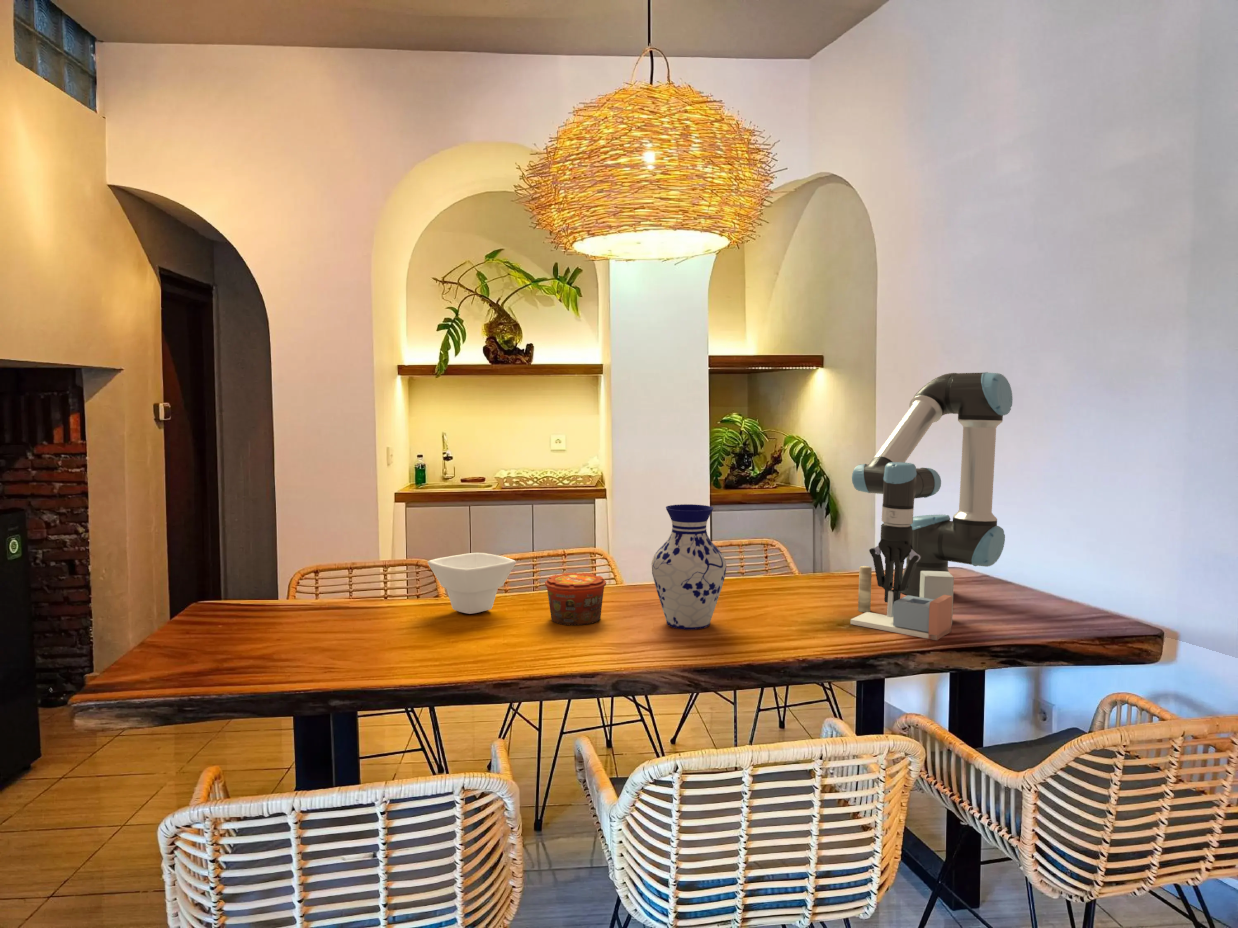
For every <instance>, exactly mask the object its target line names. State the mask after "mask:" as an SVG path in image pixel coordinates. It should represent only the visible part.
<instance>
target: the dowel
mask: <svg viewBox="0 0 1238 928" xmlns="http://www.w3.org/2000/svg"><path fill="white" fill-rule="evenodd" d="M872 570H873V567H872V566H868V565H860V566H859V569H858V571H859V572H858V575H859V576H858V601H857V603H858V604H857V605H858V606H857V611H858V612H860V613H866V612H871V600H872V598H871V597H872V572H873V571H872Z"/></svg>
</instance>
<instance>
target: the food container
mask: <svg viewBox="0 0 1238 928" xmlns="http://www.w3.org/2000/svg"><path fill="white" fill-rule="evenodd" d="M544 585H545V588H546V589H547V597H548V598H547V599H548V603H549V604H548V605H549V611H550V618H551V622H553V623H555V624H559V625H563V626H583V625H590V624H594V623H596V622H598V621H600V620H601V619H602V618H601V617H602V608H603V599H604V592H605V591H604V590H605V587H606V585H607V581H606V579H604V577H603V576H601V575H596V574H595V573H587V572H582V573H577V572H565V573H562V574H554V575H551V576H549V577H548V578H547V580H545V581H544Z"/></svg>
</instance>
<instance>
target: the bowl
mask: <svg viewBox="0 0 1238 928" xmlns="http://www.w3.org/2000/svg"><path fill="white" fill-rule="evenodd" d="M516 564H517V561H516V560H514V559H512V558H509V557H505V556H503V555H498V554H491V553H486V552H471V553H470V552H469V553H462V554H456V555H450V556H449V555H448V556H444V557H438V558H434V559H430V560H427V565H428V566H429V568H430V570H431V572H432V573H433V574H434V576H435V578H436V579H437V581H438V583H439V584H440V586H441V587H442V588H444V589H446V592H447V594H448V599H449V602H450V605H451V608H452V609H453V610H454V611H456V612H459V613H463V614H467V615H468V614H469V615H470V614H477V613H481V612H485V611H489V610H492V608H493V606H494V603H495V599H496V595H497V594H498V593H497V592H498V589H499V588H500V587H503V586H504V584H505V582H506V581H507V579H508V578H509V575H510V574H511V572H512V570H513V569H514V568H515V565H516Z"/></svg>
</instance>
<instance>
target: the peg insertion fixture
mask: <svg viewBox="0 0 1238 928" xmlns="http://www.w3.org/2000/svg"><path fill="white" fill-rule="evenodd" d="M951 621H952V622H953V616H952V596H950V595H943V596H941V597H939V598H937V599H935V600H933V601H931V602H930V606H929V632H925V631H920V630H915V629H909V628H904V627H898V626H893V617H887V614H883V613H882V614H881V613H877V612H876V613H875V612H871V611H870V612H863V613H861V614H859V615H857V616H855V617H852V618H850V625H854V626H859V627H864V628H870V629H875V630H880V631H885V632H891V633H896V634H902V635H907V636H912V637H918V638H923V639H928V640H933V641H938V640H939V639H941V638H943V637H944V636H946V635H948V634H949V633H952V625H951Z"/></svg>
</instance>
